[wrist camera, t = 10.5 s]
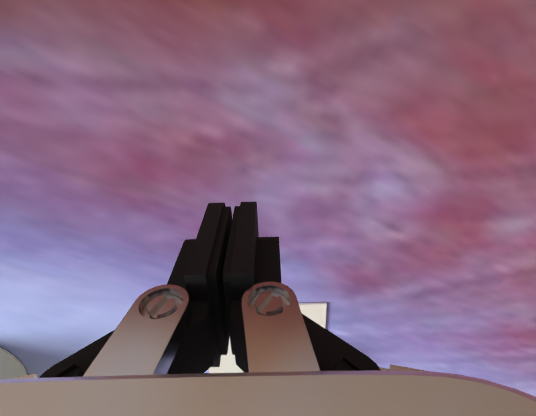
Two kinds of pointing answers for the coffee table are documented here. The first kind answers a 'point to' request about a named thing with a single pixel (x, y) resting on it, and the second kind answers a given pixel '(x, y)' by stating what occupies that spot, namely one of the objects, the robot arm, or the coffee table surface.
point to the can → (10, 366)
